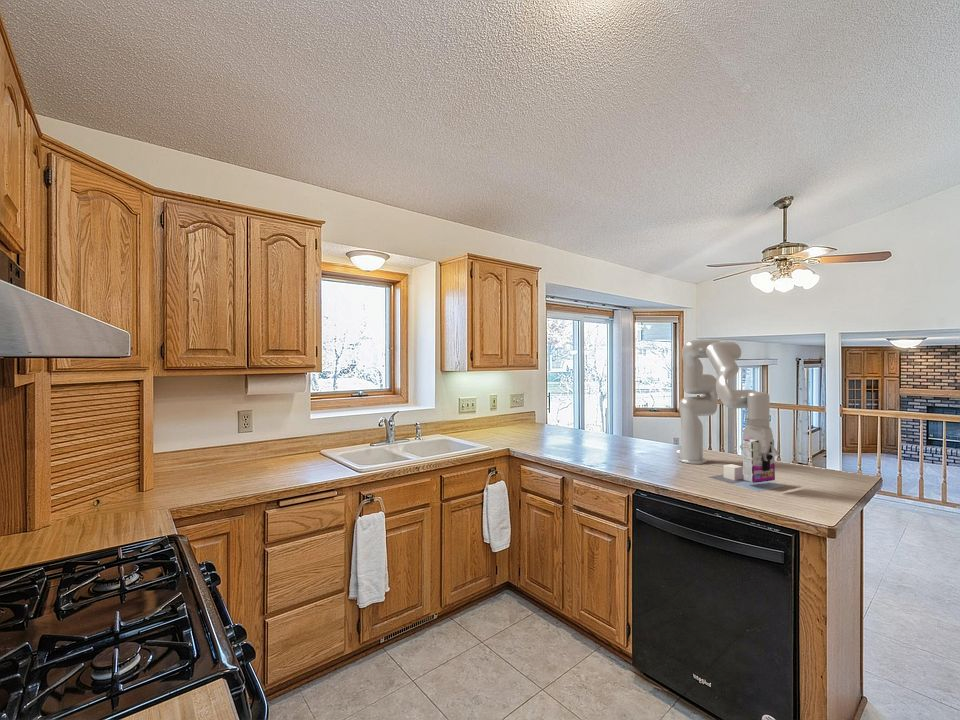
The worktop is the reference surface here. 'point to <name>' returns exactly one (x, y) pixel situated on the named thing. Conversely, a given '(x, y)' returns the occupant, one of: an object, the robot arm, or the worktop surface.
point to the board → (749, 483)
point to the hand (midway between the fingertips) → (758, 468)
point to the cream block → (733, 472)
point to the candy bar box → (755, 463)
